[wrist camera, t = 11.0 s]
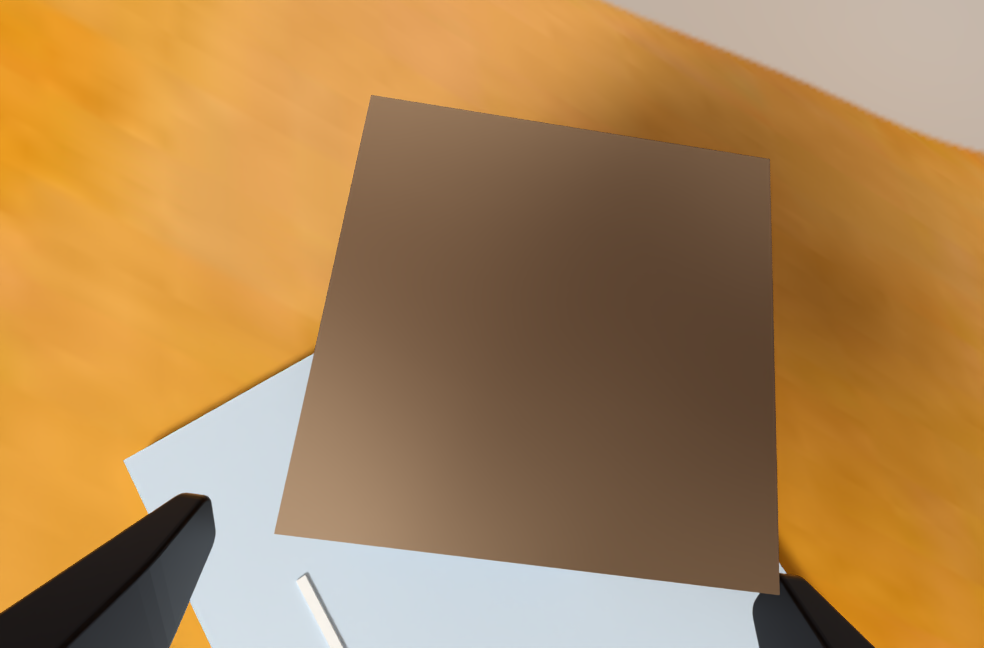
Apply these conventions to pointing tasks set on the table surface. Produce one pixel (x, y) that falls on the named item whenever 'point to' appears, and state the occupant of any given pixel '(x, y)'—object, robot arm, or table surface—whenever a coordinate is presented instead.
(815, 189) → the table surface
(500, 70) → the table surface
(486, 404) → the pillar
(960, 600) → the table surface
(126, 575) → the robot arm
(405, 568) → the baseplate
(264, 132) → the table surface
